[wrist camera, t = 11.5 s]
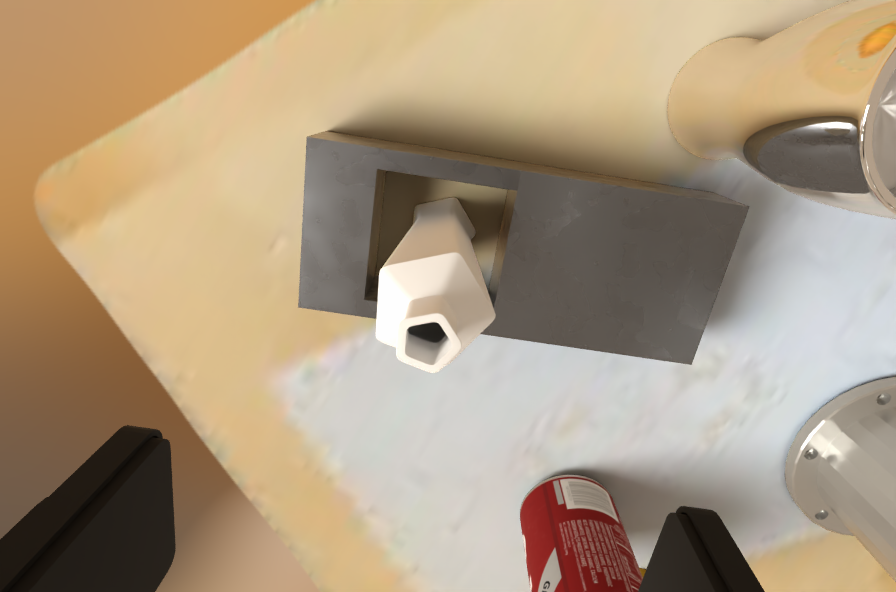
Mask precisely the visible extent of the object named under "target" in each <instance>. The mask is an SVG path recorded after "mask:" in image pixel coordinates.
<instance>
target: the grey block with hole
mask: <svg viewBox="0 0 896 592" xmlns="http://www.w3.org/2000/svg"><path fill="white" fill-rule="evenodd" d="M386 170H387V171H393V172H400V173H406V174H412V175H419V176H425V177H432V178H438V179H444V180H451V181H457V182H464V183H470V184H476V185H483V186H489V187H496V188H502V189H508V192H507V197H506V202H505V207H504V213H503V218H502V223H501V228H500V233H499V239H498V244H497V249H496V254H495V259H494V265H493V270H492V275H491V280H490V285H489V290H488V293H489V296H490V299H491V302H492V305H493V308H494V311H495V314H496V316H495V319H494V320H493V322H492V323H491V324H490V325H489V326H488V327H487V328H486V329H485V330H484V331H483V332H481V333H480V334H485V335H491V336H498V337H505V338H512V339H519V340H526V341H533V342H539V343H546V344H553V345H560V346H567V347H574V348H580V349H587V350H594V351H601V352H608V353H615V354H622V355H628V356H635V357H642V358H649V359H656V360H663V361H669V362H676V363H683V364H690V365H692V362H693V359H694V356H695V354H696V351H697V348H698V345H699V343H700V340H701V337H702V334H703V332H704V329H705V326H706V324H707V321H708V318H709V315H710V313H711V310H712V307H713V304H714V302H715V299H716V296H717V293H718V291H719V288H720V285H721V283H722V280H723V277H724V274H725V272H726V269H727V266H728V263H729V261H730V258H731V255H732V252H733V250H734V247H735V244H736V242H737V239H738V236H739V233H740V231H741V228H742V225H743V222H744V220H745V217H746V214H747V211H748V209H749V206H747V205H744V204H741V203H739V202H736V201H734V200H731V199H729V198H726V197H724V196H721V195H718V194H716V193H713V192H708V191H702V190H695V189H689V188H683V187H676V186H670V185H664V184H658V183H651V182H645V181H639V180H632V179H626V178H620V177H613V176H607V175H601V174H594V173H588V172H582V171H576V170H569V169H563V168H557V167H550V166H544V165H538V164H531V163H525V162H519V161H512V160H506V159H500V158H494V157H487V156H481V155H475V154H468V153H462V152H456V151H449V150H443V149H437V148H430V147H424V146H418V145H412V144H405V143H399V142H393V141H386V140H380V139H374V138H367V137H361V136H355V135H348V134H342V133H336V132H330V131H325V132H321V133H318V134H314V135H311V136H308V137H307V144H306V164H305V184H304V204H303V224H302V244H301V264H300V284H299V304H298V307H300V308H307V309H313V310H320V311H327V312H334V313H341V314H348V315H355V316H361V317H368V318H375V319H377V303H378V286H379V276H375V272H376V263H377V254H378V244H379V235H380V225H381V216H382V206H383V197H384V187H385V178H386Z"/></svg>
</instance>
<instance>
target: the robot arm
mask: <svg viewBox="0 0 896 592" xmlns="http://www.w3.org/2000/svg"><path fill="white" fill-rule="evenodd" d="M171 470H172V469H171V450H170V442H169V441H168V440H167V439H163V438H162V434H161V432H160V431H159V430H156V429H150V428H142V427H136V426H129V425H127V426H123V427H122V428H120V429H119V430H118V431H117V432H116V433H115V434H114V435H113V436H112V437H111V438H110V439H109V440H108V441H107V442H105V443H104V444H103V445H102V446H101V447H100V448H99V449H98V450H97V451H96V452H95V453H94V454H93V455H92V456H91V457H90V458H89V459H88V460H87V461H86V462H85V463H84V464H83V465H82V466H80V467H79V468H78V469H77V470H76V471H75V472H74V473H73V474H72V475H71V476H70V477H69V478H68V479H67V480H66V481H65V482H64V483H63V484H62V485H61V486H60V487H58V488H57V489H56V490H55V492H53V493H52V494H51V495H50V496H49V497H47V498H45V499H44V500H43V501H41V502H40V503H39V504H37V505H36V506H35V507H34V508H33V509H32V510H31V511H30V512H29V513H28V514H27V515H26V516H25V517H24V518H22V519H21V521H19V522H18V523H17V524H16V525H15V526H14V527H13V528H12V529H11V530H10V531H9V532H8V533H7V534H6V535H5V536H4V537H3V538H1V539H0V592H155V591H156V589H157V588H158V586H159V585H160V583H161V581H162V580H163V578H164V577H165V575H166V573H167V572H168V570H169V568H170V566H171V564H172V562H173V558H174V554H175V529H174V508H173V489H172V471H171ZM785 479H786V484H787V489H788V491H789V493H790V495H791V497H792V499H793V501H794V502H795V503H796V504H797V506H798V507H799V508H800V509H801V511H802V512H803V513H804V514H805V515H806V516H807V517H808V518H809V519H810V520H811V521H812V522H814V523H815V524H817V525H819V526H821V527H823V528H825V529H826V530H829V531H832V532H836V533H839V534H843V535H850V536H855V537H856V538H857V539H858V540H859V542H860V543H861V544H862V545H863V546H864V547H865V548H866V549H867V551H868V552H869V553H870V554H871V555H872V556H873V557H874V558H875V559H876V561H877V562H878V563H879V564H880V565H881V566H882V567H883V568H884V570H885V571H886V572H887V573H888V574H889V575H890V576H891V577H892V579H893V580H894V581H895V582H896V377H892V378H886V379H880V380H876V381H873V382H870V383H867V384H864V385H861V386H858V387H856V388H854V389H851V390H849V391H847V392H845V393H843V394H841V395H839V396H838V397H836V398H835V399H833V400H832V401H830V402H829V403H827V404H826V405H824V406H823V407H822V408H821V409H820V410H818V411H817V412H816V413H815V414H814V415H813V416H812V417H811V418H810V419H809V420H808V421H807V422H806V424H805V425H804V426H803V427H802V429H801V430H800V431H799V432H798V434H797V436H796V437H795V439H794V441H793V443H792V445H791V447H790V449H789V453H788V456H787V459H786V465H785ZM638 592H765V591H764V590H763V588H762V586H761V585H760V583H759V581H758V580H757V578H756V576H755V575H754V573H753V571H752V570H751V568H750V567H749V565H748V563H747V562H746V560H745V558H744V557H743V555H742V553H741V552H740V550H739V548H738V547H737V545H736V543H735V542H734V540H733V538H732V537H731V535H730V533H729V532H728V530H727V528H726V527H725V525H724V523H723V522H722V520H721V518H720V517H719V516H718V514H717V513H716V512H714V511H713V510H707V509H701V508H694V507H687V506H681V507H679V508H678V509H677V511H676V513H670V514H669V515H668V516H667V518H666V521H665V523H664V526H663V528H662V531H661V533H660V536H659V539H658V541H657V544H656V546H655V549H654V551H653V554H652V557H651V559H650V562H649V564H648V567H647V569H646V572H645V574H644V577H643V580H642V582H641V585H640V587H639V590H638Z"/></svg>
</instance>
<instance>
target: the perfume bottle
mask: <svg viewBox="0 0 896 592" xmlns="http://www.w3.org/2000/svg"><path fill="white" fill-rule="evenodd" d="M475 234H476V230H475V228H474V226H473V225H472V223H471V221H470V219H469V218H468V216H467V214H466V212H465V211H464V209H463V207H462V205H461V204H460V202H459V200H458V199H457V198H455V197H452V198H447V199H442V200H437V201H433V202H428V203H423V204H419V205H416V206H415V209H414V218H413V225H412V227H411V228H410V230H409V231H408V232H407V234H406V235H405V236H404V238H403V239H402V241H401V242H400V243H399V245H398V246H397V248H396V249H395V250H394V252H393V253H392V254H391V256H390V257H389V259H388V260H387V261H386V263H385V264H384V265H383V267H382V268H381V270H380V273H379V286H378V303H377V321H376V337H377V339H378V340H379V341H381V342H383V343H385V344H388V345H390V346H393V347H395V348H396V356H397V358H398V359H399V360H400V361H402V362H404V363H406V364H409V365H412V366H414V367H417V368H419V369H422V370H424V371H427V372H430V373H436V372H438V371H440V370H441V369H442V368H443V367H444V366H446V365H448V364H450V363H451V362H452V361H453V360H454V359H455V358H456V357H457V356H458V355H459V354H460V353H461V352H462V351H463V350H464V349H465V348H466V347H467V346H468V345H469V344H470V343H471V342H472V341H473V340H474V339H475V338H476V337H477V336H478V335H479V334H480V333H481V332H483V331H484V330H485V329H486V328H487V327H488V326H489V325H490V324H491V323H492V322H493V320H494V319H495V316H496V314H495V311H494V308H493V305H492V302H491V299H490V296H489V293H488V290H487V287H486V285H485V282H484V279H483V276H482V273H481V270H480V267H479V264H478V261H477V258H476V255H475V252H474V249H473V246H472V243H471V239H472V238H473V237H474V236H475Z"/></svg>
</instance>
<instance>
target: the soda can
mask: <svg viewBox="0 0 896 592" xmlns="http://www.w3.org/2000/svg"><path fill="white" fill-rule="evenodd" d="M520 521H521V528H522V535H523V541H524V548H525V555H526V562H527V569H528V576H529V583H530V590H531V592H638V590H639V587H640V585H641V582H642V580H643V577H642V575H641V572H640V569H639V567H638V564H637V561H636V559H635V556H634V554H633V551H632V548H631V546H630V543H629V540H628V538H627V535H626V532H625V530H624V527H623V524H622V522H621V519H620V517H619V514H618V511H617V509H616V506H615V503H614V501H613V498H612V496H611V494H610V493H609V491H608V490H607V489H606V488H605V487H604V486H603V485H601V484H600V483H599V482H597V481H595V480H593V479H591V478H588V477H584V476H579V475H561V476H556V477H552V478H549V479H547V480H544V481H542V482H541V483H539V484H537V485H536V486H535V487H534V488H532V489H531V490H530V491H529V492H528V494H527V495H526V496H525V498H524V500H523V502H522V505H521V509H520Z"/></svg>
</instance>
